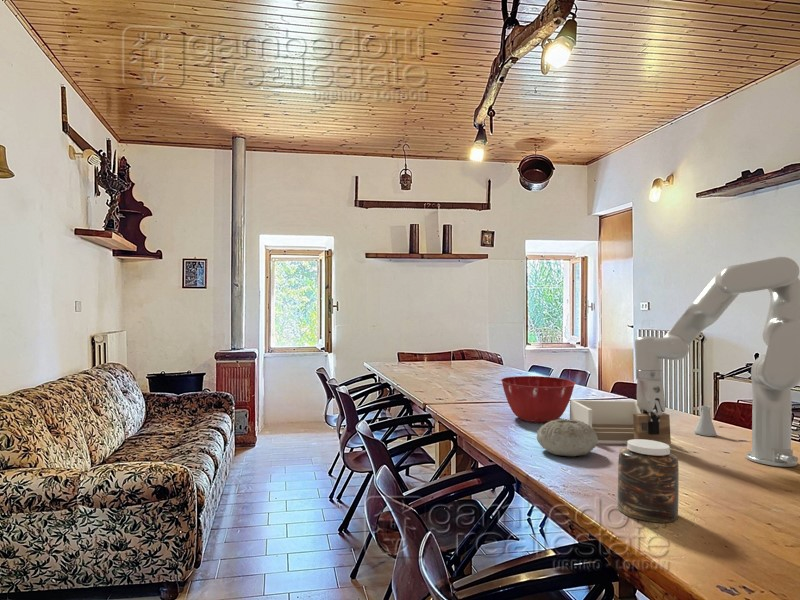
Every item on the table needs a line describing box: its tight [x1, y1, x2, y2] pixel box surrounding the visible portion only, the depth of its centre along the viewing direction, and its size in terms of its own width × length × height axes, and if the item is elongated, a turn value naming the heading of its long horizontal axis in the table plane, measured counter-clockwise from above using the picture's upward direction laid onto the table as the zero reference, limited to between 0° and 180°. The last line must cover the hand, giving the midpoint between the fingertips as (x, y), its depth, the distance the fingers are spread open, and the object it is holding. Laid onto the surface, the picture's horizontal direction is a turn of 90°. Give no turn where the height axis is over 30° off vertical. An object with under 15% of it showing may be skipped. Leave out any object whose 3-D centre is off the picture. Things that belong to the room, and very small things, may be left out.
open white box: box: [569, 399, 656, 445], centre depth 185 cm, size 18×24×11 cm
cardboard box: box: [633, 412, 672, 444], centre depth 171 cm, size 4×10×9 cm, turn 91°
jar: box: [617, 439, 680, 524], centre depth 117 cm, size 12×12×15 cm
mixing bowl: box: [500, 375, 576, 424], centre depth 212 cm, size 28×28×16 cm
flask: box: [693, 405, 718, 437], centre depth 192 cm, size 7×7×10 cm
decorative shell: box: [536, 418, 599, 457], centre depth 164 cm, size 18×18×10 cm
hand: (650, 432), depth 171 cm, fingers closed on cardboard box, 3 cm apart
